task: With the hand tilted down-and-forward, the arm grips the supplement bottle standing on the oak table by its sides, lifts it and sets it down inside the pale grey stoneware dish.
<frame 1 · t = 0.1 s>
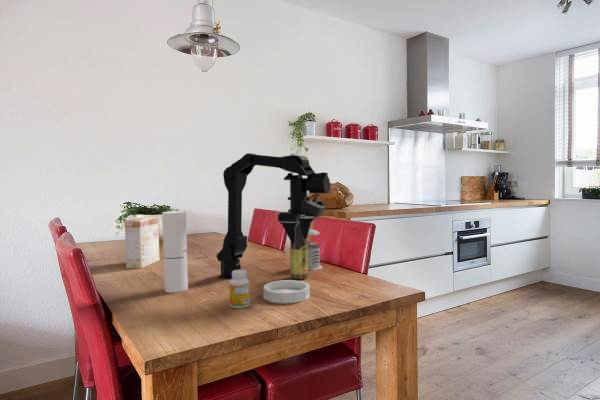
hand: (299, 240, 128), 15 cm above the table, tool pointing down, fingers open, 9 cm apart
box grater: (308, 268, 152), on the table
coffeecake box: (143, 264, 162), on the table
cylindrical container: (176, 289, 124), on the table
dish: (286, 296, 116), on the table
sauce bottle: (299, 278, 138), on the table
supplement bottle: (239, 306, 108), on the table
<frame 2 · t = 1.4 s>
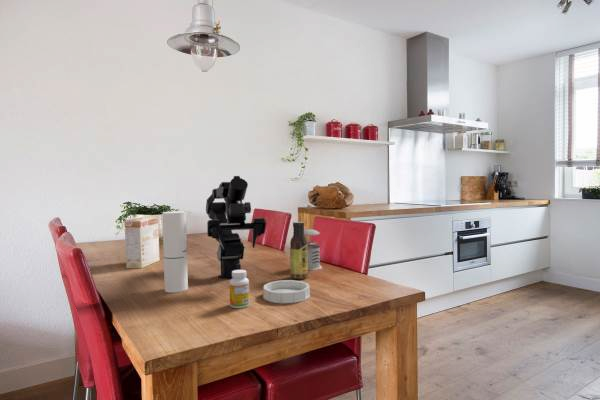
hand: (239, 248, 121), 14 cm above the table, tool tilted 45°, fingers open, 9 cm apart
nothing on the table moved.
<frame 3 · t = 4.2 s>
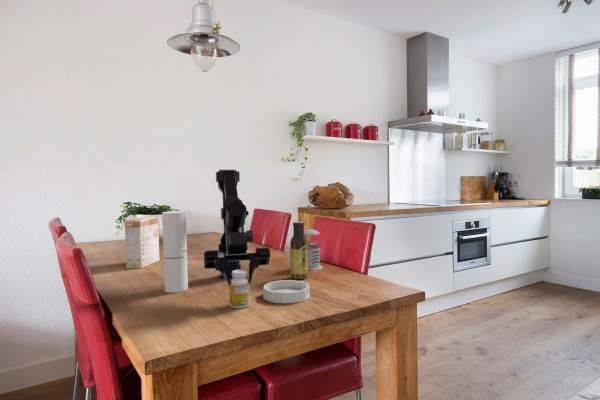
hand: (239, 283, 106), 7 cm above the table, tool tilted 45°, fingers closed on supplement bottle, 5 cm apart
supplement bottle: (239, 306, 108), on the table, touching gripper
everything else where it was.
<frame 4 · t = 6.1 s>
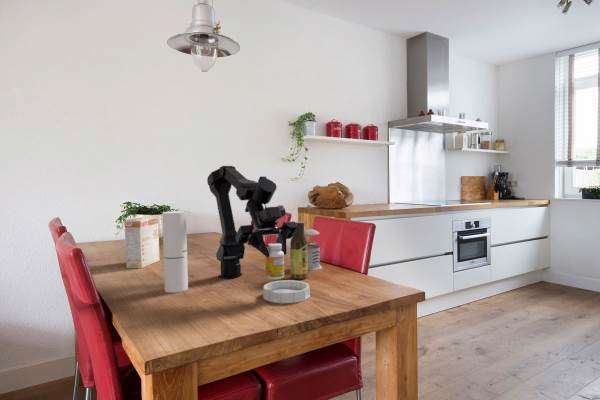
hand: (277, 255, 111), 13 cm above the table, tool tilted 45°, fingers closed on supplement bottle, 5 cm apart
supplement bottle: (275, 277, 113), point 6 cm above the table, touching gripper
everything else where it was.
when the fingers open (9 cm above the table, at t = 7.9 s): supplement bottle drops 1 cm, resting on dish.
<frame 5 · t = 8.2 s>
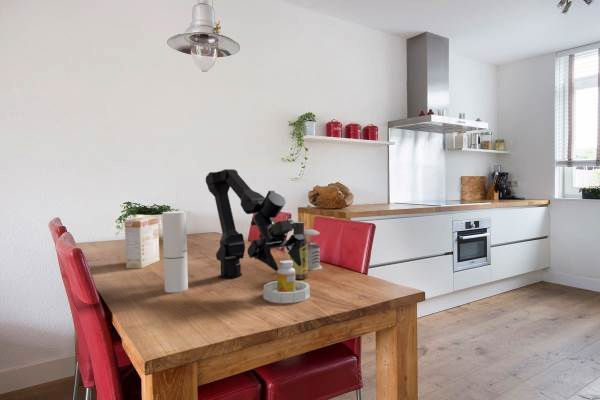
hand: (289, 267, 114), 9 cm above the table, tool tilted 45°, fingers open, 8 cm apart
supplement bottle: (286, 293, 116), point 1 cm above the table, touching dish
everything else where it was.
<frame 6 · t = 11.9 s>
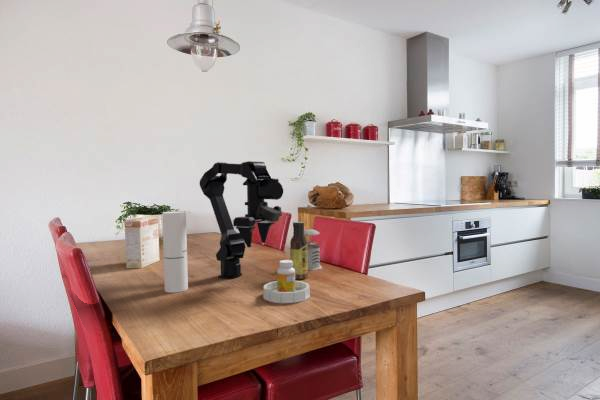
hand: (256, 245, 130), 13 cm above the table, tool pointing down, fingers open, 9 cm apart
nothing on the table moved.
at the end: supplement bottle 0.2 cm from the dish (horizontally); supplement bottle tilted 0°; the gripper is holding nothing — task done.
